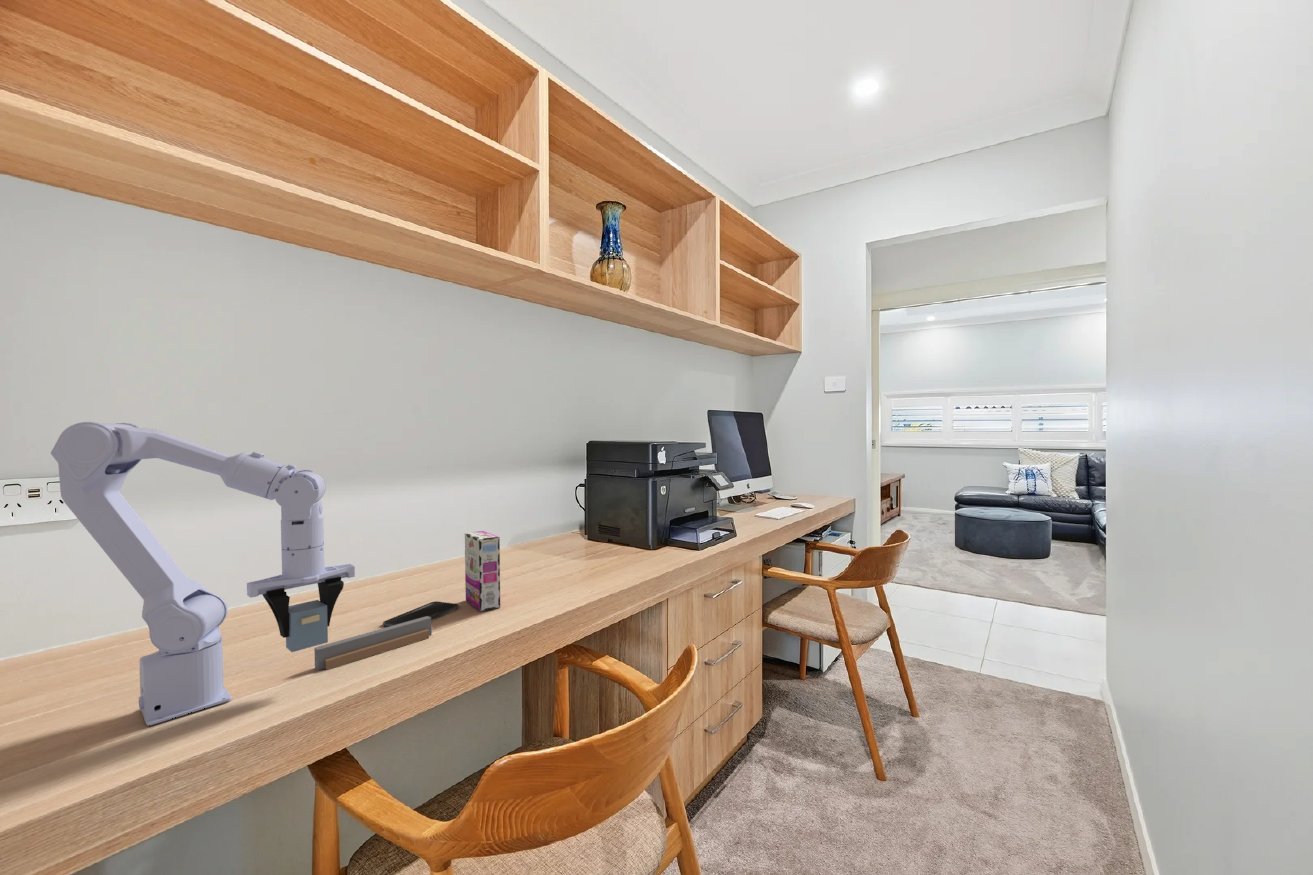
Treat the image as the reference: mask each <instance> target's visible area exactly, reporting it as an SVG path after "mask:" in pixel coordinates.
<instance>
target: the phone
mask: <svg viewBox="0 0 1313 875" xmlns="http://www.w3.org/2000/svg"><path fill="white" fill-rule="evenodd" d="M458 609H459V604H458V603H452V602H445V601H431V602H429V603H426V604H423V605H422V606H419V607H415V608H413V609H412V610H409V611H407V612H404V613H401V614H399V615H396V616H393V617H392V618H388V619H386V620H384V621H383V622H382V626H383V628H386V627H390V626H394V625H397V624H401V623H404V622H408V621H411V620H415V619H418V618H422V617H426V616H429V617H431V622H432V621H434V620H436V619H439V618H440V617H441V618H442V617H443V616H445V615H447V614H450V613H452V612H454V611H457V610H458ZM453 610H454V611H453ZM451 611H452V612H451ZM449 612H450V613H449Z"/></svg>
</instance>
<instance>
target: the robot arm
mask: <svg viewBox="0 0 1313 875" xmlns="http://www.w3.org/2000/svg"><path fill="white" fill-rule="evenodd" d="M50 454H51V456H52V457H53V459H54V460H55V461H56V462H57V465H58V476H59V477H58V478H59V490H60V497H61V499H62V501H63V502H64V504H65V505H66V506H67V508H68V509H69V510H70V511H71V512H72V513H73V515H74V516H75V517H76V518H77V519H78V521H79V522H80V523H81V524H82V527H84V528H85V529H86V531H87V532H88V533H89V534H90V536H91V537H92V538H93V540H95V542H96V543H97V544H98V546H100V548H101V549H102V550H103V552H104V553H105V554H106V555H107V556H108V558H109V559H110V560H111V562H112V563H113V564H114V565H115V566H116V567H117V569H118V570H119V571H120V573H121V574H122V575H123V577H125V579H126V580H127V581H128V582H129V584H130V585H131V587H132V588H134V590H135V591H136V593H137V594H139V596H140V597H141V598H142V599H143V605H142V612H141V617H142V620H144V622H145V623H146V625H147V627H148V630H149V632H148V634H149V639H150V641H151V644H152V645H153V646H154V647H155V648H156V649H158V651H155V652H152V653H150V654H147V655H146V654H145V655H143V656H141V657H140V658H139V689H140V691H139V692H140V694H139V695H140V696H139V697H138V707H139V711H141V714H142V717H143V719H144V723H145V725H146V726H148V727H149V725H150V726H154V725H156V724H159V723H163V722H165V721H166V722H167V721H169V720H172V718H173V719H175V717H176V718H179V717H182V716H185V715H189V714H192V713H195V712H198V711H201V710H204V708H205V709H208V708H211V707H215V706H216V705H220V704H223V703H227V702H230V701H232V699H233V697H232V695H231V694H230V692H229V691H228V689H227V688H226V687H225V684H224V657H223V656H224V655H223V653H224V652H223V649H224V648H223V634H222V632H221V631H220V626H221V625H222V623H223V622H225V620H226V618H227V615H228V606H227V602H226V601H225V599H223V598H222V597H221V596H220V595H218V594H216V593H215V592H211V591H209V590H208V589H207V588H206V587H205V585H204V584H203V583H202V582H200V581H197V580H196V579H193V578H190V577H188V576H187V575H186V574H185V573H184V572H183V570H182V569H181V568H180V567H179V565H178V564H177V563H176V562H175V560H174V559H173V558H172V557H171V555H170V554H169V553H168V551H167V550H166V549H165V547H164V546H163V545H162V543H160V541H159V540H158V539H157V537H156V536H155V535H154V533H152V531H151V530H150V529H149V527H148V526H147V525H146V523H145V522H144V520H142V518H141V517H140V516H139V514H137V512H136V511H135V509H134V508H133V507H132V506H131V504H130V503H129V502H128V501H127V499H126V498H125V496H123V494H122V493H121V488H122V486H123V485H124V482H125V480H126V479H127V476H128V474H129V473H130V472H131V471H133V469H134V468H135V467H136V466H137V465H138V464H140V462H141V461H142V460H146V459H147V460H148V459H159V460H164V461H167V462H170V463H174V464H178V465H181V466H185V467H189V468H192V469H195V470H199V471H203V472H207V473H210V474H214V475H217V476H220V478H221V480H222V481H223V483H224V485H225V486H226V487H227V488H231V489H234V490H237V491H241V492H243V493H247V494H251V495H254V496H256V497H260V498H264V499H267V500H269V501H273V500H275V502H276V503H277V504H278V506H279V507H280V513H281V516H280V517H281V519H280V546H281V548H280V549H281V574H279V575H275V576H271V577H267V578H262V579H259V580H254V581H251V582H246V595H247V597H249V598H255V597H259V596H260V595H262V597H263V599H264V600H265V601H266V603H267V604H268V606H269V608H270V609H271V612H272V614H273V615H274V618H275V620H276V623H277V626H278V630H279V635H280V637H282V638H285V639H286V637H289V620H288V610H289V606H290V598H291V597H290V596H289V595H287V591H285V590H291V589H294V588H301V587H304V586H311V585H315V584H317V587H318V596H319V597H318V598H319V601H320V602H322V603H324V604H325V605H327V624H328V627H330V625H331V618H332V614H333V611H334V607H335V605H336V602H337V600H338V598H339V596H340V594H341V592H342V591H343V589H344V586H345V584H344V583H345V582H344V581H343V580H342V579H346V578H347V579H351V578H354V577H356V569H355V567H356V566H355V565H354V564H351V563H348V564H342V565H333V566H326V567H325V536H324V535H325V533H324V532H325V530H324V516H323V501H322V498H323V497H324V495H325V493H326V489H327V487H326V486H327V485H326V482H325V480H324V478H322V476H321V475H319V474H318V473H316V472H314V471H313V470H311V469H302V470H298V471H297V468H298V467H297V465H295V464H291V463H288V465H286V464H283V463H279V462H276V461H273V460H271V459H267V458H264V457H265V453H263V452H259V451H252V453H250V452H248V451H247V452H245V451H243V452H240V453H239V454H235V455H233V456H232V455H228V454H226V453H223V452H221V451H218V450H214V449H212V448H209V447H206V446H203V445H201V444H199V443H195V442H193V441H190V440H187V439H184V438H183V437H182V438H181V437H179V436H178V435H177V436H176V435H174V434H171V433H168V432H164V431H162V430H158V429H153V428H150V427H149V428H148V427H141V426H139V425H136V424H132V423H129V422H118V423H105V422H104V423H101V422H94V421H83V422H81V421H80V422H78V423H75V424H71V425H70V426H67V427H66V428H65V429H64V430H63V431H62V432H61V434H60V435H59V437H58V438H57V440H56V442H55V444H54V446H53V448H52V450H51V451H50ZM191 712H192V713H191ZM188 713H189V714H188Z"/></svg>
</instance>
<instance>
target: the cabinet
mask: <svg viewBox="0 0 1313 875" xmlns="http://www.w3.org/2000/svg"><path fill="white" fill-rule="evenodd" d="M288 620H289V637H286V638H285V647H286V649H287V650H288V651H290V652H291V653H294V652H298V651H301V650H305V649H308V648H313V647H315V646H316V647H318V646H321V645H323V644H324V645H325V644H328V643H329V635H328V634H329V631H328V629H329V628H328V627H329V626H328V624H327V605H325V604H324V603H322V602H320V599H313V600H310V601H306V602H301V603H297V604H293V605H292V604H291V605H289V610H288Z"/></svg>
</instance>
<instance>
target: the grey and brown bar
mask: <svg viewBox="0 0 1313 875" xmlns="http://www.w3.org/2000/svg"><path fill="white" fill-rule="evenodd" d="M432 630H433V629H432V621H431V617H429V616H426V617H422V618H418V619H415V620H411V621H408V622H404V623H401V624H397V625H394V626H390V627H383V628H380V629H375V630H373V631H369V632H366V633H362V634H358V635H355V636H352V637H351V636H350V637H347V638H345V639H341V640H337V641H333V642H328V643H325V644H324V645H323V644H321V645H318V646H316V647H315V646H314V649H313V650H314V669H316V670H317V671H320V670H324V669H325V670H326V671H328V670H331V669H334V668H337V667H340V666H343V665H347V664H350V663H353V662H357V661H360V660H363V659H366V658H369V657H373V656H375V655H378V654H382V653H386V652H390V651H392V650H395V649H398V648H401V647H404V646H408V645H411V644H414V643H417V642H420V641H424V640H427V639H429V638H430V636H433V634H432Z"/></svg>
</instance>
